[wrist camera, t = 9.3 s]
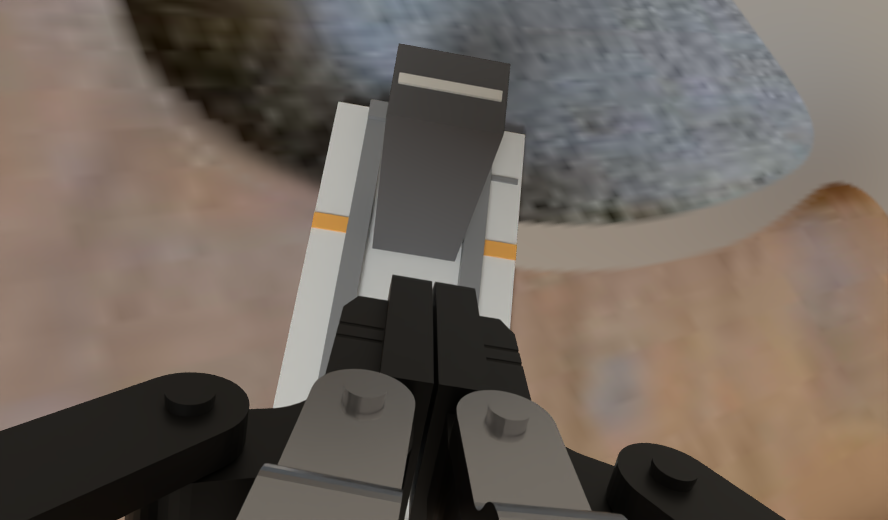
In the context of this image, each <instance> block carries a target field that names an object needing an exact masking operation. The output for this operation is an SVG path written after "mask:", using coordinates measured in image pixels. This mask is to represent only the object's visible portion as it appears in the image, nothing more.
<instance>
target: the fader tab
mask: <svg viewBox="0 0 888 520" xmlns="http://www.w3.org/2000/svg"><path fill="white" fill-rule="evenodd" d="M509 74H510V64H507V63H502V62H497V61H491V60H486V59H480V58H475V57H470V56H464V55H459V54H453V53H448V52H443V51H437V50H432V49H426V48H421V47H416V46H410V45H405V44H399V46H398V51H397V57H396V63H395V68H394V74H393V80H392V85H391V91H390V96H389V102H388V108H387V113H386V122H385V132H384V141H383V150H382V160H381V169H380V179H379V188H378V197H377V207H376V216H375V226H374V235H373V244H372V248H373V249H379V250H386V251H392V252H398V253H404V254H410V255H417V256H423V257H429V258H435V259H441V260H448V261H454V262H455V259H456V257H457V254H458V252H459V249H460V247H461V244H462V241H463V239H464V236H465V234H466V231H467V228H468V226H469V223H470V221H471V218H472V216H473V213H474V210H475V208H476V205H477V203H478V200H479V197H480V195H481V192H482V190H483V187H484V185H485V182H486V179H487V177H488V174H489V172H490V169H491V166H492V164H493V161H494V159H495V156H496V154H497V151H498V148H499V146H500V143H501V141H502V138H503V135H504V128H505V117H506V106H507V96H508V85H509Z"/></svg>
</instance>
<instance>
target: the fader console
mask: <svg viewBox="0 0 888 520" xmlns="http://www.w3.org/2000/svg"><path fill="white" fill-rule="evenodd" d="M387 108H388V102H385V101H379V100H374V99H371V102H370V107H366V106H360V105H354V104H349V103H343V102H338V106H337V111H336V116H335V120H334V125H333V130H332V134H331V139H330V144H329V148H328V153H327V158H326V162H325V167H324V172H323V176H322V181H321V186H320V190H319V195H318V200H317V204H316V209H315V213H314V217H313V222H312V228H311V232H310V237H309V242H308V246H307V251H306V256H305V260H304V265H303V270H302V274H301V279H300V284H299V288H298V293H297V298H296V302H295V307H294V312H293V316H292V321H291V326H290V331H289V335H288V340H287V345H286V349H285V354H284V359H283V363H282V368H281V373H280V377H279V382H278V387H277V391H276V396H275V401H274V405H273V408H280V407H285V406H290V405H294V404H297V403H300V402H302V401H304V400H306V399H307V397H308V395H309V393H310V390H311V388H312V386H313V384H314V383H315V382H316V381H317V380H318V379H319V378H320V377H322V376H323V375H325V373H326V369H327V365H328V362H329V358H330V354H331V350H332V347H333V343H334V339H335V336H336V332H337V328H338V324H339V321H340V317H341V313H342V309H343V306H344V305H346V304H347V303H349V302H350V301H352V300H353V299H355V298H356V297H357V296H364V297H370V298H376V299H382V300H388V295H389V289H390V284H391V279H392V274H393V275H399V276H405V277H411V278H417V279H423V280H428V281H432V290H433V286H434V283H435V282H441V283H447V284H453V285H458V286H464V287H470V288H475V290H476V297H477V303H478V309H479V316H484V317H490V318H496V319H500V320H501V321H502V322H503V323H504V324H505V325H506V326H507V327H508V328H509V329H510V321H511V309H512V296H513V283H514V270H515V260H516V249H517V231H518V219H519V207H520V194H521V181H522V168H523V156H524V143H525V135H524V134H518V133H512V132H507V131H504V135H503V138H502V141H501V143H500V146H499V148H498V151H497V154H496V156H495V159H494V161H493V164H492V166H491V169H490V172H489V174H488V177H487V179H486V182H485V185H484V187H483V190H482V192H481V195H480V197H479V200H478V203H477V205H476V208H475V210H474V213H473V216H472V218H471V221H470V223H469V226H468V228H467V231H466V234H465V236H464V239H463V241H462V244H461V247H460V249H459V252H458V254H457V257H456V259H455V262H454V261H448V260H441V259H435V258H429V257H423V256H417V255H410V254H404V253H398V252H392V251H386V250H379V249H373V248H372V244H373V235H374V226H375V216H376V207H377V197H378V188H379V179H380V169H381V160H382V150H383V141H384V132H385V122H386V113H387ZM404 520H409V500H408V505H407V510H406V514H405V519H404Z"/></svg>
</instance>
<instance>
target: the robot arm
mask: <svg viewBox="0 0 888 520" xmlns="http://www.w3.org/2000/svg"><path fill="white" fill-rule="evenodd" d="M521 364H522V362H521V358H520V354H519V353H518V346H517V342H516V338H515V334H514V333H513V332H512V331H511V330H510V329H509V328H508V327H507V326H506V325H505V324H504V323H503V322H502V321H501V320H500V319H496V318H490V317H484V316H479V309H478V303H477V297H476V290H475V288H470V287H464V286H458V285H453V284H447V283H441V282H435V283H434V286H433V290H432V281H428V280H423V279H417V278H411V277H405V276H399V275H393V274H392V279H391V284H390V289H389V295H388V300H382V299H376V298H370V297H364V296H357V297H356V298H355V299H353V300H352V301H350V302H349V303H347V304H346V305H344V306H343V309H342V313H341V317H340V321H339V324H338V328H337V332H336V336H335V339H334V343H333V347H332V350H331V354H330V358H329V362H328V365H327V369H326V373H325V375H323V376H322V377H320V378H319V379H318V380H317V381H316V382H315V383H314V384H313V386H312V388H311V390H310V393H309V395H308V397H307V399H306V400H304V401H302V402H300V403H297V404H294V405H290V406H285V407H280V408H268V409H249V399H248V397H247V394H246V393H245V392H244V391H243V389H242V388H240V387H239V386H238V385H237V384H235V383H233V382H232V381H230V380H227V379H225V378H222V377H219V376H215V375H211V374H205V373H175V374H169V375H164V376H161V377H157V378H154V379H151V380H148V381H146V382H143V383H140V384H137V385H134V386H131V387H128V388H125V389H122V390H119V391H116V392H113V393H110V394H108V395H105V396H102V397H99V398H96V399H93V400H90V401H87V402H84V403H81V404H78V405H75V406H72V407H70V408H67V409H64V410H61V411H58V412H55V413H52V414H49V415H46V416H43V417H40V418H37V419H34V420H32V421H29V422H26V423H23V424H20V425H17V426H14V427H11V428H8V429H5V430H2V431H0V520H118V519H120V518H122V517H124V516H125V520H404V519H405V514H406V510H407V505H408V500H409V520H786V519H784V518H783V517H781V516H780V515H778V514H777V513H775V512H774V511H772V510H771V509H769V508H768V507H766V506H765V505H763V504H762V503H760V502H759V501H757V500H756V499H754V498H753V497H751V496H750V495H748V494H747V493H745V492H744V491H742V490H741V489H739V488H738V487H736V486H735V485H733V484H732V483H730V482H729V481H728V480H726V479H725V478H723V477H722V476H720V475H719V474H717V473H716V472H714V471H713V470H711V469H710V468H708V467H707V466H705V465H704V464H702V463H701V462H699V461H698V460H696V459H694V458H693V457H691V456H689V455H687V454H685V453H683V452H680V451H678V450H676V449H673V448H670V447H667V446H663V445H658V444H651V443H637V444H632V445H629V446H627V447H625V448H623V449H622V450H621V451H620V453H619V455H618V457H617V460H616V463H615V466H612V465H610V464H607V463H604V462H601V461H598V460H596V459H593V458H590V457H587V456H584V455H582V454H579V453H577V452H575V451H573V450H571V449H569V448H567V447H565V445H564V443H563V440H562V438H561V435H560V433H559V430H558V428H557V426H556V423H555V422H554V420H553V418H552V417H551V416H550V414H549V413H548V412H546V411H545V410H544V409H543V408H542V407H540V406H539V405H538V404H536V403H534V402H532V401H531V398H530V394H529V390H528V386H527V382H526V378H525V374H524V370H523V366H521Z"/></svg>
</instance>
